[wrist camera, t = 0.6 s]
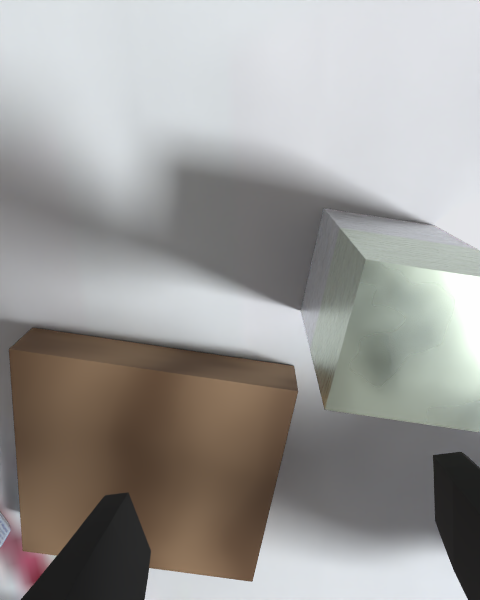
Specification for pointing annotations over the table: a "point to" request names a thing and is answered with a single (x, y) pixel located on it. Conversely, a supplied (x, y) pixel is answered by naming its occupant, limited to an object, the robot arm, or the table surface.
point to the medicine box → (3, 529)
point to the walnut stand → (149, 445)
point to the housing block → (395, 320)
